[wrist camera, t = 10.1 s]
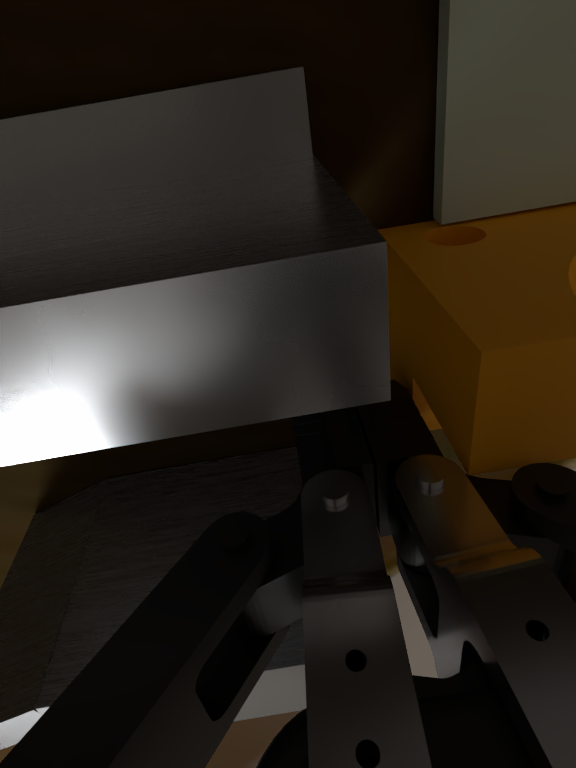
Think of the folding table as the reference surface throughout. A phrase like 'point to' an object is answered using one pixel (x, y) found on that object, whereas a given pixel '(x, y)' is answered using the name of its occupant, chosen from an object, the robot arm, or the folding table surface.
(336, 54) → the folding table surface
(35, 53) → the folding table surface
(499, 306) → the pipe clamp
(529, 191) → the pad
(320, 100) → the folding table surface
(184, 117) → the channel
